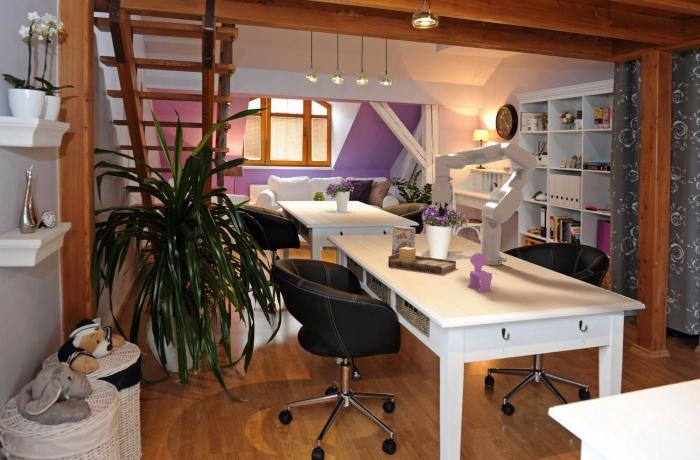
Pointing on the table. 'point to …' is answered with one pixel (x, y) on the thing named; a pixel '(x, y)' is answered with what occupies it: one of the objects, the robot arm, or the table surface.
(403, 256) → the block
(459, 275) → the table surface
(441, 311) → the table surface
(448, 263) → the brown wooden tray
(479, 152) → the robot arm
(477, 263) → the toy chair
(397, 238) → the candy bar box
